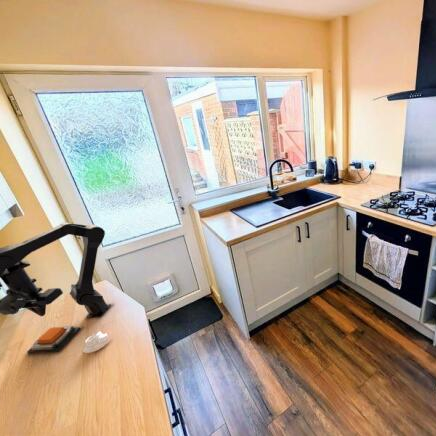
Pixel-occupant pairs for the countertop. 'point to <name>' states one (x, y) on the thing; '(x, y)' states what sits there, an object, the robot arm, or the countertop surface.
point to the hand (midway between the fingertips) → (43, 315)
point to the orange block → (51, 335)
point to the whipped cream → (95, 342)
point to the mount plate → (57, 344)
